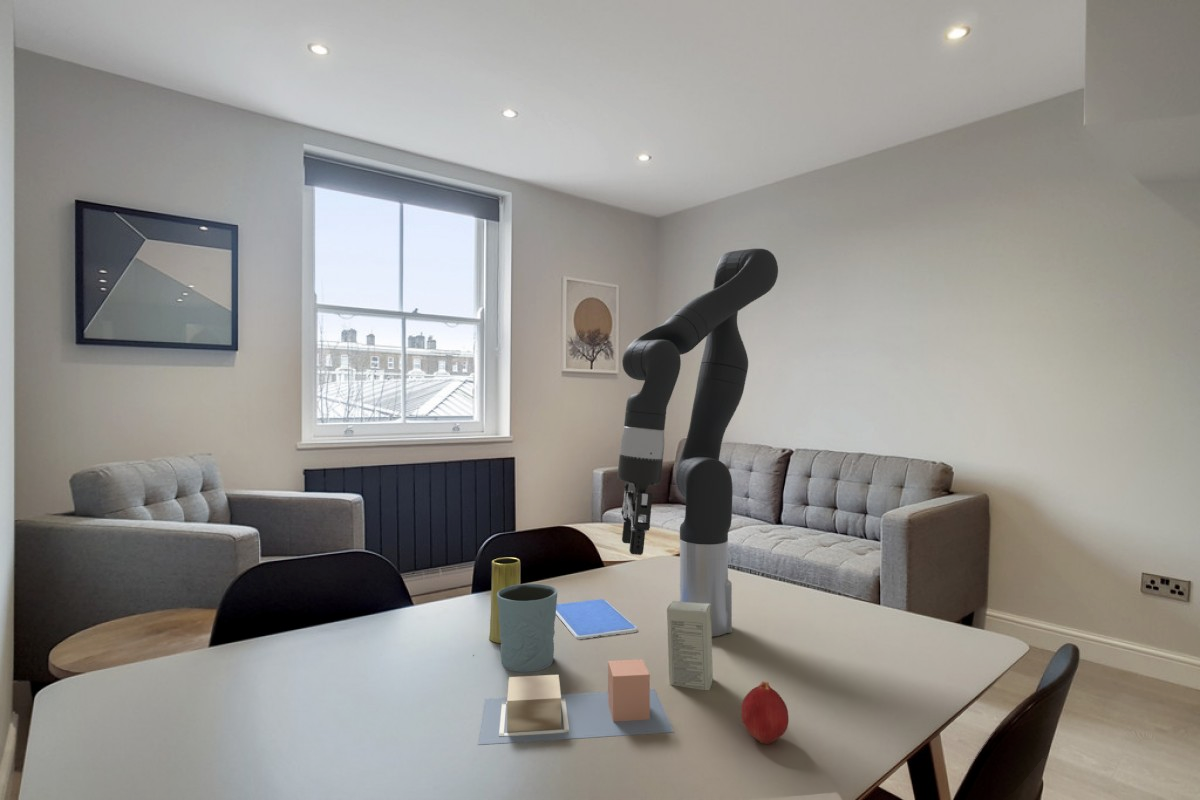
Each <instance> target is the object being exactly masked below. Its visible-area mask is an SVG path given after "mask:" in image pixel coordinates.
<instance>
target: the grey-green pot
mask: <svg viewBox="0 0 1200 800" xmlns="http://www.w3.org/2000/svg"><path fill="white" fill-rule="evenodd" d="M497 602H498V612H499V623H500V640H501V643H500V657H501V659H500V661H501V665H502V666H503V668H505V669H507V670H511V671H514V672H521V673H524V672H528V673H529V672H537V671H540V670H541V671H542V670H543V669H545V668H548V667H549V666H551V665H552V663H553V662H554V654H555V652H554V651H555V642H554V641H555V640H554V636H555V633H556V632H555V622H556V616H557V615H556V604H557V603H558V589H556V587H553V586H551V585H546V584H542V583H540V584H539V583H523V584H521V583H520V585H514V586H509V587H506V588H503V589H501V590H500V591H498V593H497Z"/></svg>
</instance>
